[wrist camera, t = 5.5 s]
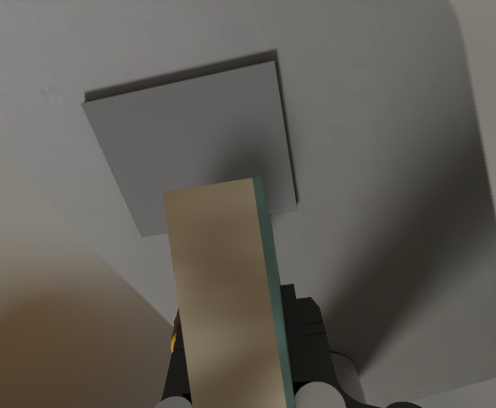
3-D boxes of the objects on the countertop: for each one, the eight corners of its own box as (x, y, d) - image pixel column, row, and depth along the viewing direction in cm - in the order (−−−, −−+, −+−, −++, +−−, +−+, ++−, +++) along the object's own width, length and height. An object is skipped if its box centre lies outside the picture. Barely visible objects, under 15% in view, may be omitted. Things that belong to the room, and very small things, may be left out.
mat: (296, 206, 29) (297, 210, 28) (143, 233, 30) (141, 237, 30) (273, 59, 23) (274, 60, 22) (84, 101, 24) (80, 103, 24)
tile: (260, 176, 8) (312, 522, 8) (266, 192, 14) (295, 385, 14) (162, 192, 8) (209, 530, 8) (210, 200, 14) (238, 391, 14)
